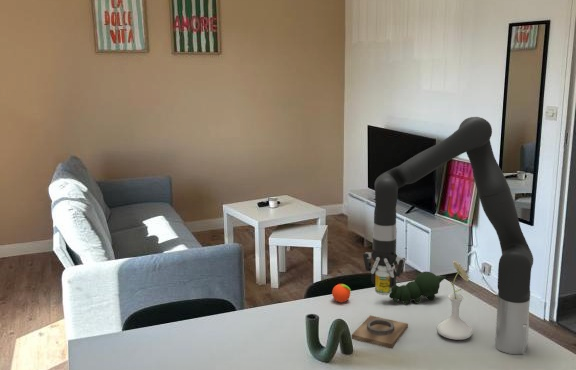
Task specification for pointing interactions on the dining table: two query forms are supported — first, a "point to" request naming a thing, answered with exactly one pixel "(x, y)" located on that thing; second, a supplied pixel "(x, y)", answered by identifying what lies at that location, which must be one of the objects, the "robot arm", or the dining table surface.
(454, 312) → the flower in vase
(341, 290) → the clementine
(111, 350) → the dining table surface
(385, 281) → the supplement bottle
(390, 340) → the collar board
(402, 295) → the toy figurine
